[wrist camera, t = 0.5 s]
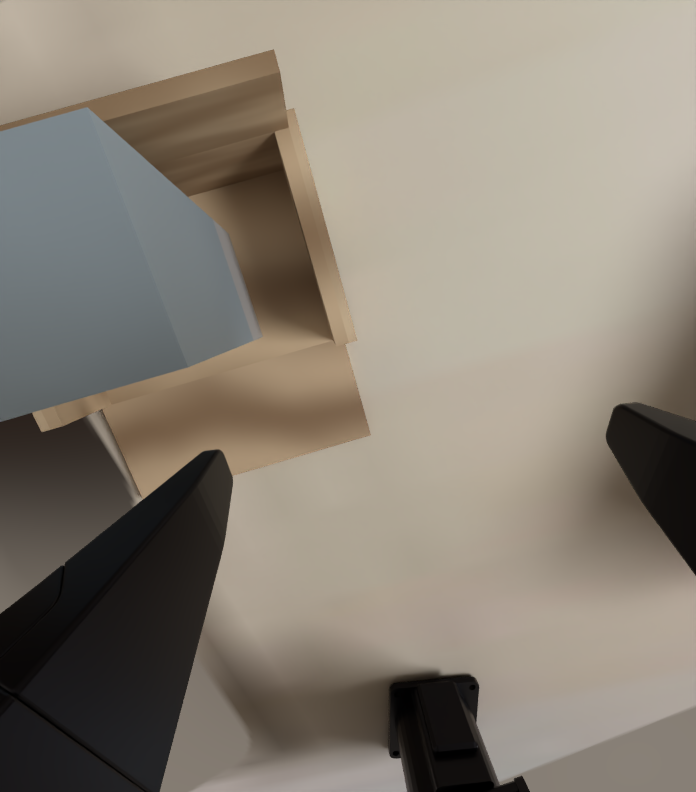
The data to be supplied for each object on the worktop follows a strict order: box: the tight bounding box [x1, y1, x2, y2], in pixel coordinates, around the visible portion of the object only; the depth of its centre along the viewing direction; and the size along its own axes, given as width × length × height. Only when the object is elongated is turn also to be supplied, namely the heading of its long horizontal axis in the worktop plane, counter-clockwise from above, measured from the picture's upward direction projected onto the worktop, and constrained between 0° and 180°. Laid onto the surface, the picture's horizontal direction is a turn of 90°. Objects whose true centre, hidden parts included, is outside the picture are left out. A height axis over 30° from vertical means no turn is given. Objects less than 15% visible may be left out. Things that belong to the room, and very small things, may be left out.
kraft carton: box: [0, 50, 371, 499], centre depth 17 cm, size 16×15×8 cm
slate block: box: [0, 107, 263, 422], centre depth 14 cm, size 6×6×12 cm
